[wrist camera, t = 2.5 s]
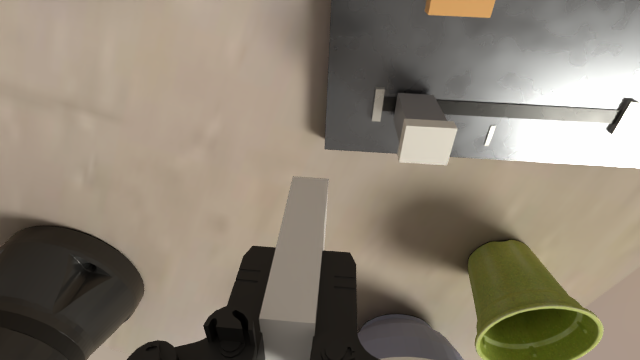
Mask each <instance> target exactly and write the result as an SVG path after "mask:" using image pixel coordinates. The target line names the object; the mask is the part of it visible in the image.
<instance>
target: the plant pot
mask: <svg viewBox="0 0 640 360" xmlns="http://www.w3.org/2000/svg"><path fill="white" fill-rule="evenodd" d="M468 273H469V278H470V283H471V288H472V293H473V298H474V303H475V309H476V314H477V320H478V321H477V335H476V339H475V347H476V351H477V353H478V355H479V356H480V357H481V358H482V359H483V360H576V359H578V358H580V357H582V356H583V355H585V354H586V353H588V352H589V351H591V350H592V349H593V348H595V347H596V345H597V344H598V343H599V341H600V340H601V338H602V336H603V330H604V329H603V325H602V322H601V321H600V320H599V318H598V317H597V316H596V315H595V314H594V313H592V312H591V311H589V310H587V309H585V308H583V307H582V306H581V305H580V304H579V303H578V302H577V301H576V300H575V299H573V298H571V297H570V296H569V295H568V294H567V293H566V291H565V290H564V289H563V288H562V287H561V286H560V284H559V283H558V282H557V281H556V280H555V278H554V277H553V276H552V275H551V274H550V272H549V271H548V270H547V269H546V268H545V266H544V265H543V264H542V263H541V262H540V260H539V259H538V258H537V257H536V255H535V254H534V253H533V252H532V251H531V250H530V248H529V247H528V246H527V245H525V244H524V243H522V242H519V241H516V240H508V241H504V242H495V241H493V242H489V243H487V244H484V245H483V246H481V247H479V248H478V249H477V250H475V251H474V252H473V253H472V254H471V256H470V257H469V260H468Z"/></svg>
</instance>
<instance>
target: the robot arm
mask: <svg viewBox="0 0 640 360" xmlns="http://www.w3.org/2000/svg"><path fill="white" fill-rule="evenodd" d="M328 180H329V179H323V178H309V177H294V176H293V178H292V182H291V187H290V191H289V195H288V199H287V203H286V208H285V212H284V216H283V220H282V224H281V229H280V233H279V237H278V241H277V245H276V248H274V247H261V246H252V247H251V248H250V249H249V251H248V252H247V253H246V254H245V255H244V256H243V259H242V262H241V265H240V268H239V271H238V274H237V277H236V282H235V283H234V286H233V289H232V292H231V295H230V298H229V301H228V304H227V306H226V307H223V308H221V309H219V310H216V311H215V312H214V313H213V314H211V315H210V316H209V317H208V319H207V320H206V322H205V324H204V325H203V326H204V330H205V333H206V336H207V338H205V339H203V340H201V341H198V342H195V343H191V344H187V345H182V346H178V347H173V346H172V345H171V344H169V343H168V342H166V341H159V340H157V341H153V342H148V343H146V344H144V345H143V346H141V347H139V348H138V349H136V350H135V351H134V352H133V353H132V354H131V356H129V358H128V359H127V360H380V359H378V358H376V357H374V356H373V355H371V354H370V353H369V352H367V351H366V350H365V349H364V347H363V346H362V344H361V343H360V341H359V338H358V334H357V304H356V263H355V261H354V259H353V257H352V256H351V254H350V253H348V252H335V251H324V242H325V230H326V215H327V197H328ZM143 294H144V284H143V280H142V278H141V276H140V274H139V272H138V271H137V269H136V268H135V267H134V265H133V264H132V263H131V262H130V261H129V260H128V259H127V258H126V257H124V256H123V255H122V254H121V253H120V252H118V251H117V250H115V249H114V248H112V247H111V246H109V245H107V244H106V243H104V242H102V241H100V240H98V239H96V238H94V237H91V236H89V235H86V234H84V233H81V232H78V231H74V230H71V229H66V228H61V227H53V226H36V227H30V228H26V229H23V230H21V231H19V232H17V233H16V234H14V235H13V236H12V237H11V238H10V239H9V240H8V241H7V242H6V243H5V244H3V245H2V246H1V247H0V360H87V359H88V358H89V356H90V355H91V354H92V353H93V352H94V351H95V350H96V349H97V348H98V347H99V346H100V345H102V344H103V343H104V342H105V341H106V340H107V339H108V338H109V337H110V336H111V335H112V334H113V333H114V332H115V331H116V330H117V329H118V328H119V327H120V325H121V324H122V323H124V322H125V321H127V320H128V319H129V318H130V317H131V315H132V314H133V313H134V311H135V309H136V308H137V306H138V304H139V302H140V301H141V299H142V297H143Z"/></svg>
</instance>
